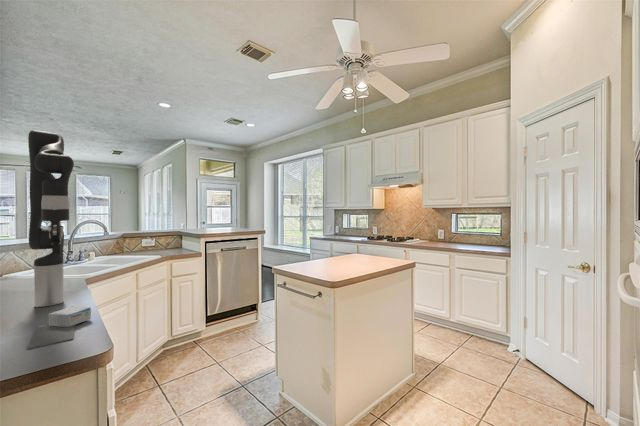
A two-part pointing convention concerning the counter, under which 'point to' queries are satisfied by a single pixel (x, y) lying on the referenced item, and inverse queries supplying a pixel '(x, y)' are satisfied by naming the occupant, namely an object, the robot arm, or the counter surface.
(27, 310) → the counter surface
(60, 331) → the mat
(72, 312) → the medicine box
